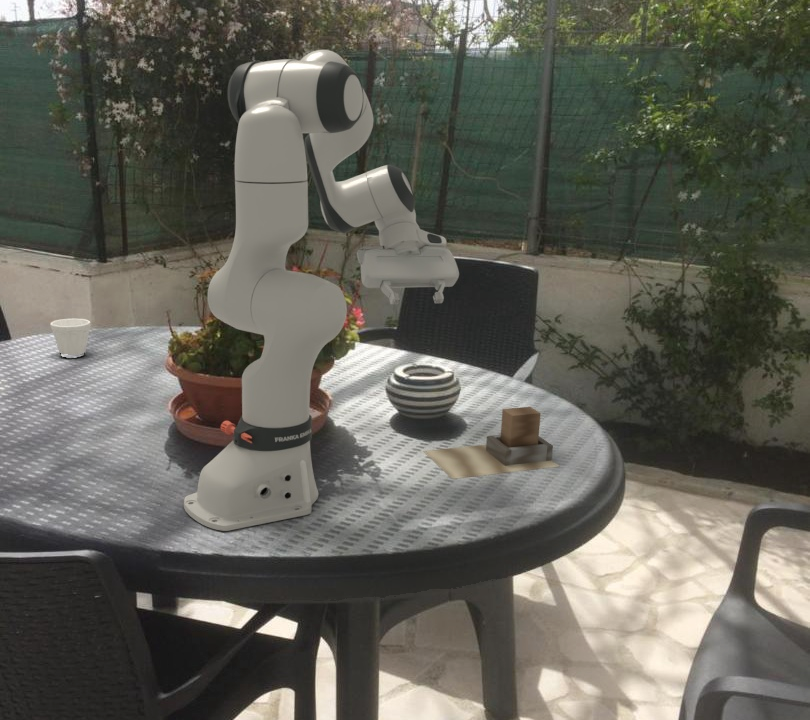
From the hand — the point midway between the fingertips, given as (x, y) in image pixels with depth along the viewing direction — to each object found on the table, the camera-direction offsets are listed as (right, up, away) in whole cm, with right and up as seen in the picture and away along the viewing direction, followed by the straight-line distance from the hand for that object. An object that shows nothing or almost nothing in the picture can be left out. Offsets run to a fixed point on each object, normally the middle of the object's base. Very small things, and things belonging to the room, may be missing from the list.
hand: (417, 302), depth 166 cm
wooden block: (+19, -30, -5) cm, 36 cm away
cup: (-92, -11, +58) cm, 109 cm away
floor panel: (+14, -32, -7) cm, 35 cm away
